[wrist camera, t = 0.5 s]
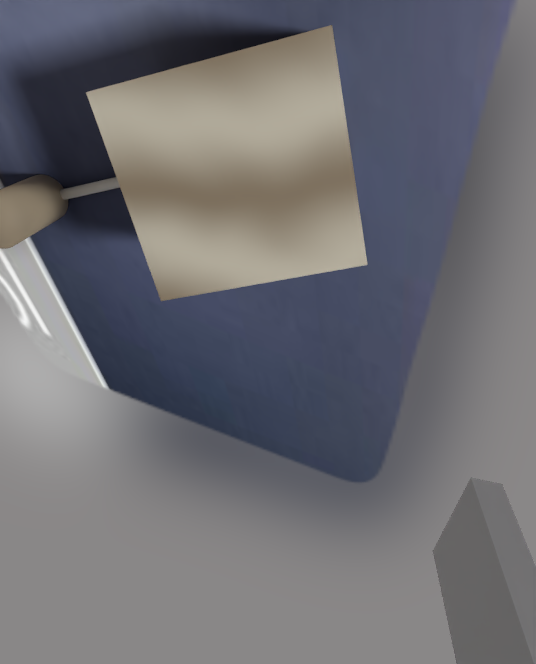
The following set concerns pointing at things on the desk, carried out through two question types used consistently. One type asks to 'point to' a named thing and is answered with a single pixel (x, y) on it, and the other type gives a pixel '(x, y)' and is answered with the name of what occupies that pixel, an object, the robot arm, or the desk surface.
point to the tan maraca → (38, 205)
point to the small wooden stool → (237, 166)
